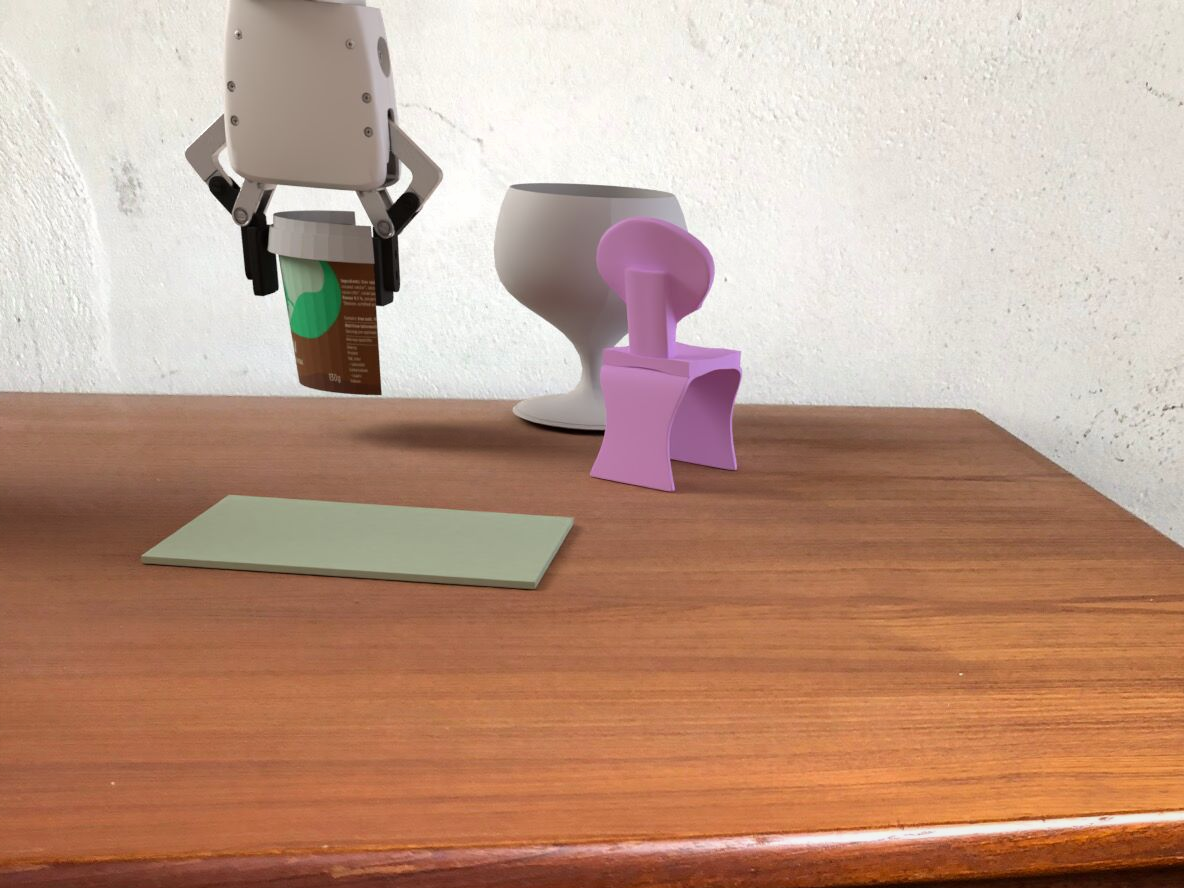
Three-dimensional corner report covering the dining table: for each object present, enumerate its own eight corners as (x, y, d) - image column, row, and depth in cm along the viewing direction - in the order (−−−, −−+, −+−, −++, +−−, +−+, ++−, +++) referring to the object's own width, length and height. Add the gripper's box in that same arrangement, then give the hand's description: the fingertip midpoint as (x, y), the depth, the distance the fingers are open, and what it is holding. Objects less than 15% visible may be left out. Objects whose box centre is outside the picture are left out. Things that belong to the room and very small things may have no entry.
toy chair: (754, 471, 101) (766, 218, 93) (685, 494, 94) (692, 225, 86) (649, 451, 104) (652, 206, 96) (576, 473, 97) (573, 211, 89)
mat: (141, 563, 76) (140, 555, 76) (229, 501, 87) (228, 494, 87) (535, 589, 76) (535, 581, 76) (573, 524, 87) (573, 517, 87)
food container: (276, 367, 106) (259, 206, 101) (365, 368, 108) (353, 210, 103) (285, 398, 96) (267, 222, 91) (384, 399, 98) (371, 226, 93)
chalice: (703, 439, 109) (710, 203, 101) (508, 437, 106) (499, 194, 97) (670, 401, 120) (673, 186, 112) (492, 398, 117) (483, 178, 109)
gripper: (458, -11, 93) (467, 303, 103) (179, -35, 93) (213, 282, 103) (430, -19, 87) (442, 317, 96) (130, -45, 87) (172, 294, 96)
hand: (324, 296), depth 99 cm, fingers closed on food container, 7 cm apart
